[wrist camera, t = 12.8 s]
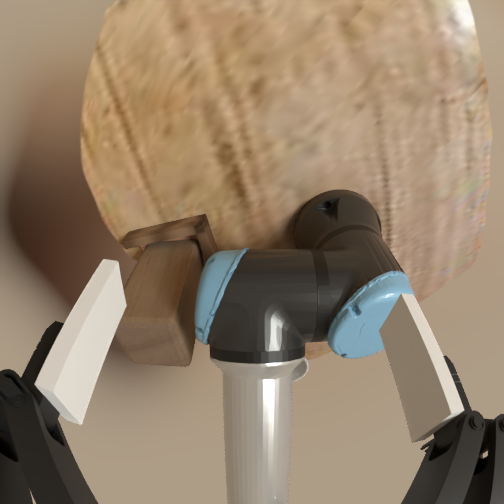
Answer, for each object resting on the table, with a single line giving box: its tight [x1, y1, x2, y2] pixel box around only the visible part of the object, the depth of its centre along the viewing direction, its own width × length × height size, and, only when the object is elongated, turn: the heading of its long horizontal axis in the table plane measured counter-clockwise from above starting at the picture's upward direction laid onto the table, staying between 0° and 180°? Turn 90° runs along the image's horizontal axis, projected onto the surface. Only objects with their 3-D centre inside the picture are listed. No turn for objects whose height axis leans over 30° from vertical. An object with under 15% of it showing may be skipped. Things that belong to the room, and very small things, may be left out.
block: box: [115, 239, 204, 367], centre depth 45 cm, size 10×10×20 cm
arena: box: [123, 214, 218, 262], centre depth 51 cm, size 15×15×4 cm
